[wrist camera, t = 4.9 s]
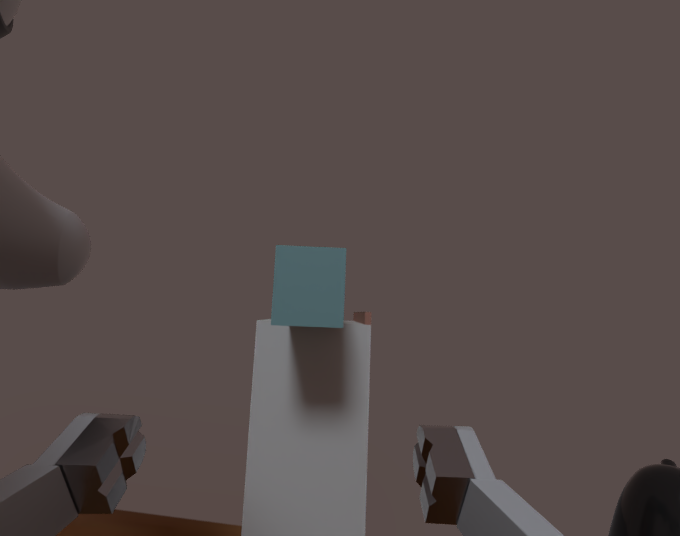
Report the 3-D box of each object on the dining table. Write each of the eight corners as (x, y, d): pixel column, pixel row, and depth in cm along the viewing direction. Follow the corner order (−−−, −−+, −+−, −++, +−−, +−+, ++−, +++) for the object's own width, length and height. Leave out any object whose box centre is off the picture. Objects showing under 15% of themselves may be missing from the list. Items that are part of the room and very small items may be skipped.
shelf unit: (228, 705, 23) (257, 307, 26) (265, 564, 36) (281, 309, 39) (360, 707, 23) (371, 312, 27) (349, 566, 36) (357, 312, 40)
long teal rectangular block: (270, 325, 18) (276, 245, 19) (300, 319, 37) (303, 279, 38) (343, 328, 19) (346, 248, 19) (336, 320, 37) (338, 280, 38)
